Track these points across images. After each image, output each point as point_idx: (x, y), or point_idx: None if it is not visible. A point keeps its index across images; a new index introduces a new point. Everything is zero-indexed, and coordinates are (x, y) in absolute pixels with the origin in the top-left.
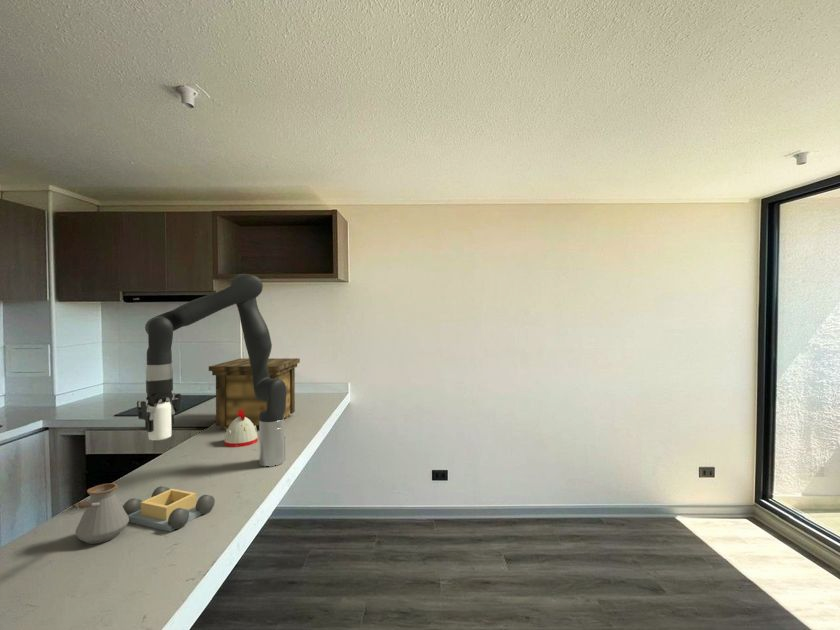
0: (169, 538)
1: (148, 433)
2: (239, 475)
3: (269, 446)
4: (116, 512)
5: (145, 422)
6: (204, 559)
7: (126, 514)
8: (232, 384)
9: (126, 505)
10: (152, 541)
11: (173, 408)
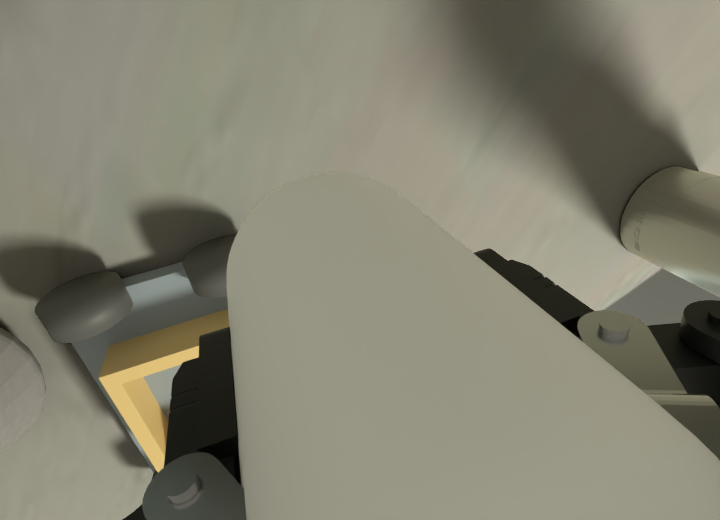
0: (141, 493)
1: (230, 283)
2: (531, 228)
3: (695, 279)
4: None
5: (166, 457)
6: None
7: (26, 419)
8: None
9: (47, 330)
10: (97, 484)
11: (706, 387)
